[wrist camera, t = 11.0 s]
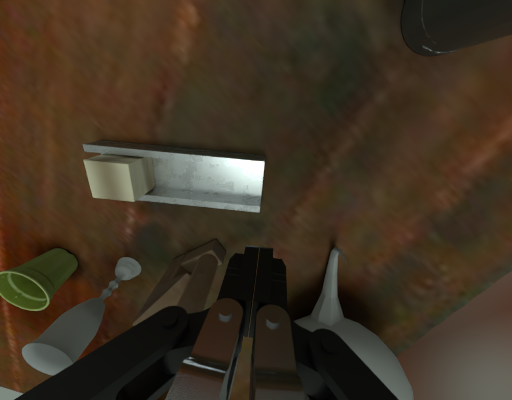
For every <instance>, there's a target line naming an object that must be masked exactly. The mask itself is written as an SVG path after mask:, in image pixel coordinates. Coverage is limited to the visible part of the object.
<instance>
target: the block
mask: <svg viewBox="0 0 512 400" xmlns="http://www.w3.org/2000/svg"><path fill="white" fill-rule="evenodd" d="M84 164H85V168H86V172H87V176H88V180H89V184H90V187H91V191H92V195H93V197H94V198H103V199H113V200H123V201H132V202H135V201H136V200H137V199H139V198H140V197H142V196H143V195H144V194H146V193H147V192H149V191H150V190H151V189H153V188H154V187H155V180H154V172H153V164H152V158H148V157H138V156H128V155H117V154H107V153H105V154H102V155H98V156H95V157H92V158H89V159H85V160H84Z"/></svg>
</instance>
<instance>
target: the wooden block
mask: <svg viewBox="0 0 512 400" xmlns="http://www.w3.org/2000/svg"><path fill="white" fill-rule="evenodd" d="M225 254H226V251H225V250H224V249H223V247H222V246H221V245H220V243H219V242H218V241H217V240H216V239H215V240H213V241H211V242H209V243H207V244H205V245H203V246H201V247H198V248H196V249H194V250H192V251H190V252H188V253H186V254H184V255H181V256H179V257H177V258H175V259H173V261H172V262H171V264H170V266H169V267H168V269H167V270H166V272H165V274H164V275H163V277H162V278H161V280H160V282H159V283H158V285H157V286H156V287H155V289H154V290H153V292H152V293H151V295H150V297H149V298H148V300H147V301H146V303H145V305H144V306H143V308H142V309H141V311H140V312H139V314H138V316H137V317H136V319H135V320H134V322H133V325H134V326H135V325H137V324H138V323H140V322H142V321H143V320H145V319H147V318H148V317H150V316H152V315H153V314H155V313H156V312H158V311H160V310H161V309H163V308H165V307H168V306H180V307H182V308H184V309H185V310H186V311H187V313H188V314H189V313H195V312H201V311H203V309H204V306H205V303H206V300H207V297H208V294H209V291H210V288H211V285H212V282H213V279H214V276H215V273H216V270H217V267H218V266H219V265H221V264H222V263H223V261H224V257H225Z"/></svg>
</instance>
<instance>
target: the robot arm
mask: <svg viewBox="0 0 512 400" xmlns="http://www.w3.org/2000/svg"><path fill="white" fill-rule="evenodd" d="M401 25H402V33H403V36H404V39H405V41H406V43H407V45H408V46H409V47H410V48H411V49H412V50H413V51H415V52H416V53H418V54H420V55H425V56H436V55H440V54H445V53H449V52H453V51H456V50H459V49H462V48H466V47H469V46H473V45H476V44H480V43H483V42H487V41H490V40H494V39H497V38H501V37H504V36H508V35H511V34H512V0H406V1H405V4H404V8H403V11H402V19H401ZM258 252H259V247H257V246H250V245H246V248H245V253H244V254H238V253H235V254H234V255H233V256H232V257H231V258H230V260H229V263H228V267H227V270H226V274H225V276H224V279H223V283H222V286H221V289H220V292H219V296H218V298H217V301H216V302H215V303H214V304H213V305H212V306H211V307H210V308H208V309H206V310H204V311H201V312H195V313H189V314H188V313H187V311H186V310H185V309H184V308H182V307H180V306H168V307H165V308H163V309H161V310H160V311H158V312H156V313H155V314H153V315H152V316H150V317H148V318H147V319H145V320H143V321H142V322H140V323H138V324H137V325H135V326H134V327H132V328H130V329H129V330H127V331H125V332H124V333H122V334H121V335H119V336H117V337H116V338H114V339H112V340H111V341H109V342H107V343H106V344H104V345H103V346H101V347H99V348H98V349H96V350H94V351H93V352H91V353H90V354H88V355H86V356H85V357H83V358H81V359H80V360H78V361H77V362H75V363H73V364H72V365H70V366H68V367H67V368H65V369H63V370H62V371H60V372H59V373H57V374H55V375H54V376H52V377H50V378H49V379H47V380H46V381H44V382H42V383H41V384H39V385H37V386H36V387H34V388H32V389H31V390H29V391H28V392H26V393H24V394H23V395H21V396H20V397H18V398H16V399H15V400H156V399H158V398H159V397H160V396H161V395H162V394H163V393H164V392H165V391H167V390H168V389H169V388H170V387H171V388H170V390H169V392H168V395H167V397H166V399H165V400H229V397H230V393H231V388H232V384H233V380H234V375H235V371H236V367H237V362H238V358H239V353H240V351H241V347H242V340H243V336H245V337H248V330H249V323H250V315H251V308H252V316H251V324H250V333H249V337H253V345H252V354H251V370H250V395H249V400H399V399H398V398H397V397H396V396H395V395H394V394H393V393H392V392H391V391H390V390H389V389H388V388H387V386H386V385H385V384H384V383H383V382H382V381H381V380H380V379H379V378H378V377H377V376H376V375H375V374H374V373H373V372H372V370H371V369H370V368H369V367H368V366H367V365H366V364H365V363H364V362H363V361H362V360H361V359H360V358H359V357H358V355H357V354H356V353H355V352H354V351H353V350H352V349H351V348H350V347H349V346H348V345H347V344H346V343H345V342H344V341H343V339H342V338H341V337H340V336H339V335H337V334H336V333H335V332H333V331H331V330H329V329H324V328H320V329H317V330H315V331H314V332H311V331H309V330H307V329H305V328H303V327H301V326H299V325H298V324H296V323H295V322H294V321H293V320H292V318H291V317H290V315H289V313H288V309H287V286H286V266H285V264H284V262H283V261H282V259H276V258H273V248H265V247H260V253H259V260H258ZM257 261H258V268H257ZM256 270H257V276H256ZM255 278H256V283H255ZM254 285H255V291H254ZM253 293H254V299H253ZM252 300H253V307H252Z"/></svg>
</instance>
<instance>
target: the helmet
mask: <svg viewBox="0 0 512 400" xmlns="http://www.w3.org/2000/svg"><path fill="white" fill-rule="evenodd" d="M339 253H340V254H341V255H342V257H343V259H344V260H345V262H346V259H345V257H344V255H343V252H342V250H341V249H339V248H337V247H335V248H334V249H333V250H332V251H331V254H330V258H329V262H328V266H327V271H326V275H325V280H324V285H323V289H322V293H321V295H320V297H319V299H318V301H317V303H316V305H315V307H314V309H313V311H312V313H311V315H309V316H306V317H303V318H301V319H298V320H295V321H294V322H295V323H296V324H298V325H299V326H301V327H303V328H305V329H307V330H309V331H311V332H314V331H315V330H317V329H320V328H324V329H329V330H331V331H333V332H335V333H336V334H337V335H339V336H340V337H341V338H342V339H343V341H344V342H345V343H346V344H347V345H348V346H349V347H350V348H351V349H352V350H353V351H354V352H355V353H356V354H357V355H358V357H359V358H360V359H361V360H362V361H363V362H364V363H365V364H366V365H367V366H368V367H369V368H370V369H371V370H372V372H373V373H374V374H375V375H376V376H377V377H378V378H379V379H380V380H381V381H382V382H383V383H384V384H385V385H386V386H387V388H388V389H389V390H390V391H391V392H392V393H393V394H394V395H395V396H396V397H397V398H398V399H399V400H413V392H412V388H411V386H410V384H409V382H408V380H407V378H406V376H405V373H404V372H403V369H402V367H401V365H400V363H399V361H398V360H397V358H396V356H395V355H394V354H393V353H392V352H391V351H390V350H389V348H388V347H387V346H386V345H385V344H384V343H383V342H382V340H381V339H380V338H379V337H378V336H377V335H375V334H374V333H372V332H371V331H369V330H368V329H366V328H365V327H364V326H362V325H361V324H359V323H358V322H355V321H352V320H349V319H346V318H344V316H343V313H342V309H341V306H340V303H339V299H338V296H337V265H338V254H339ZM346 263H347V262H346ZM347 265H348V264H347Z"/></svg>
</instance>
